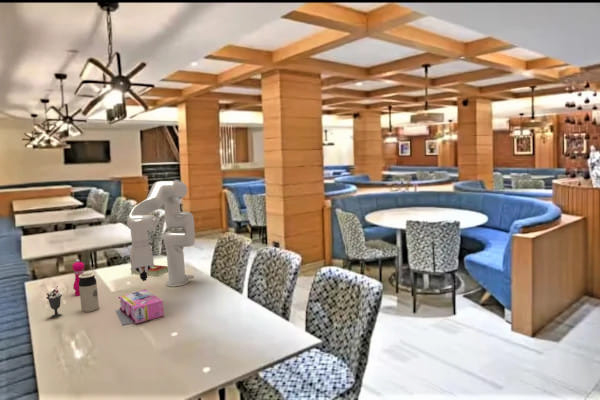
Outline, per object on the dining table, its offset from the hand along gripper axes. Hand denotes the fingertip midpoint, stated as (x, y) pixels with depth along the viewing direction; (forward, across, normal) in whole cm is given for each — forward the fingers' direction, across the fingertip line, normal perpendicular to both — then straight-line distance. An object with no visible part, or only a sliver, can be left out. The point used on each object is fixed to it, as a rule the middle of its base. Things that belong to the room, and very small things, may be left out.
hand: (144, 280), depth 214 cm
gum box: (+12, -4, +2) cm, 12 cm away
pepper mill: (+17, +26, -50) cm, 59 cm away
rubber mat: (+16, +5, +1) cm, 17 cm away
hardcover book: (+19, -16, -70) cm, 74 cm away
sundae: (+16, +39, -20) cm, 46 cm away
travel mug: (+16, +24, -20) cm, 35 cm away
